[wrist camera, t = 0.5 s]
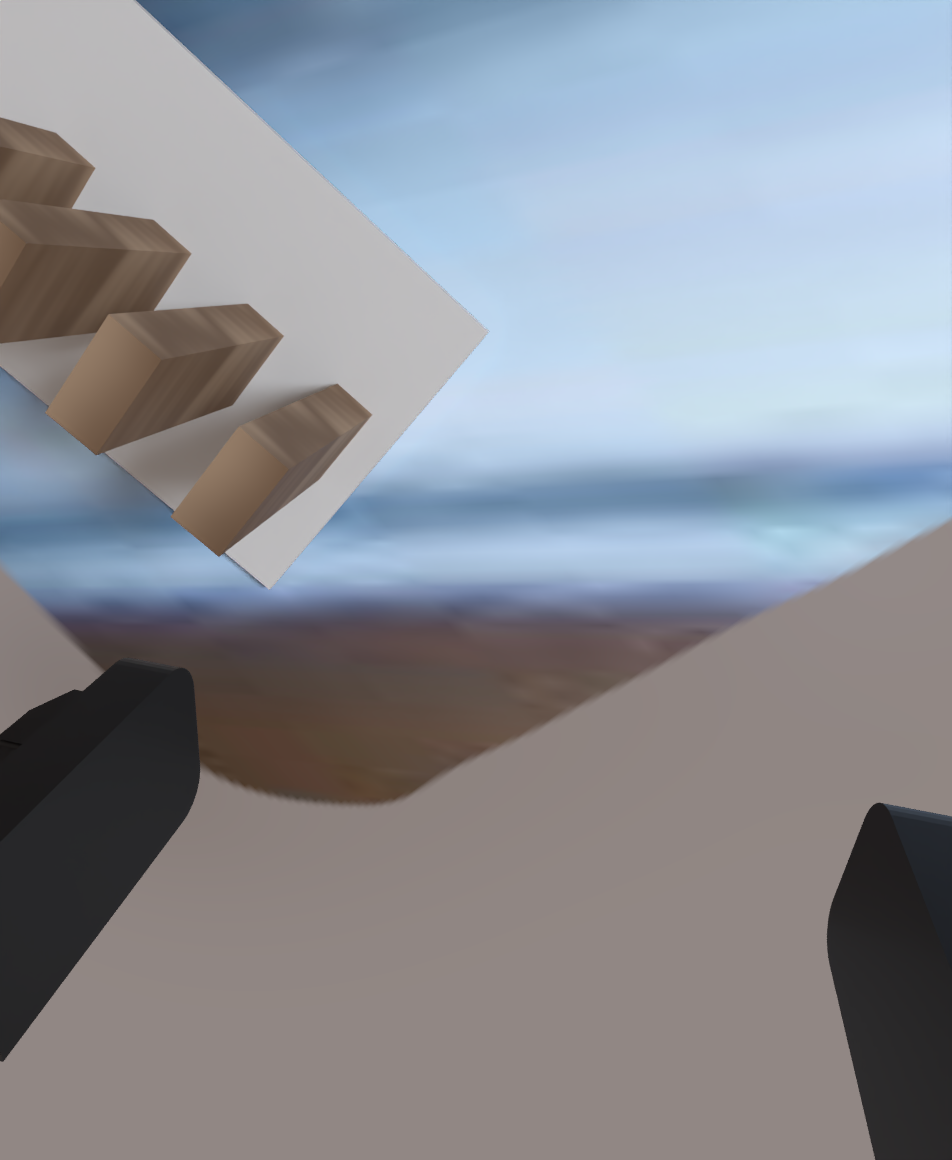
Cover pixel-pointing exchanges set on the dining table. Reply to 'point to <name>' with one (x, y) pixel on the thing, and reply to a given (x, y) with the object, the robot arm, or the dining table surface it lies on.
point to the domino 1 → (40, 166)
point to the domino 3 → (161, 372)
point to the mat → (229, 251)
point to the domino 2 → (78, 269)
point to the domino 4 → (269, 466)
